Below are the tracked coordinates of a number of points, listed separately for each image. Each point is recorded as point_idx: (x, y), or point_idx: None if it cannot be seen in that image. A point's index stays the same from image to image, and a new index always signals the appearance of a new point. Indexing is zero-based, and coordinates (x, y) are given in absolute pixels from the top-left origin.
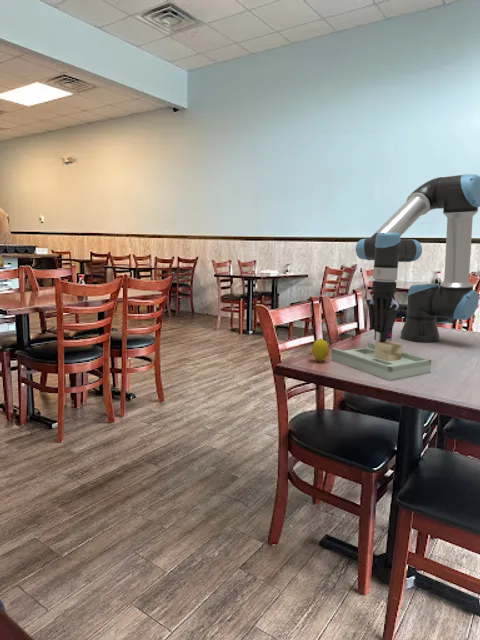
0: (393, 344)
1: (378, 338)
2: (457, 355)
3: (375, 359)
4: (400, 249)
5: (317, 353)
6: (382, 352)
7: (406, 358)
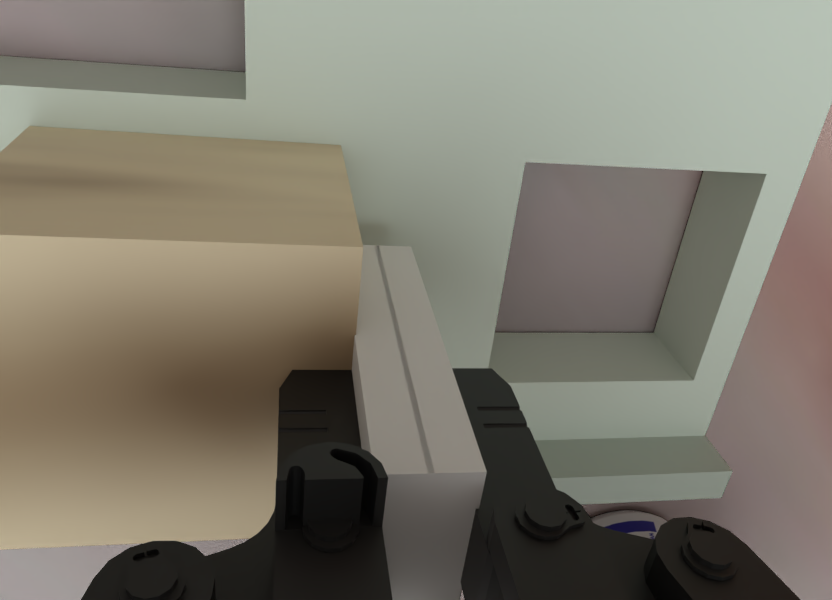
0: (29, 414)
1: (371, 376)
2: None
3: (247, 70)
4: None
5: None
6: (150, 175)
7: None
